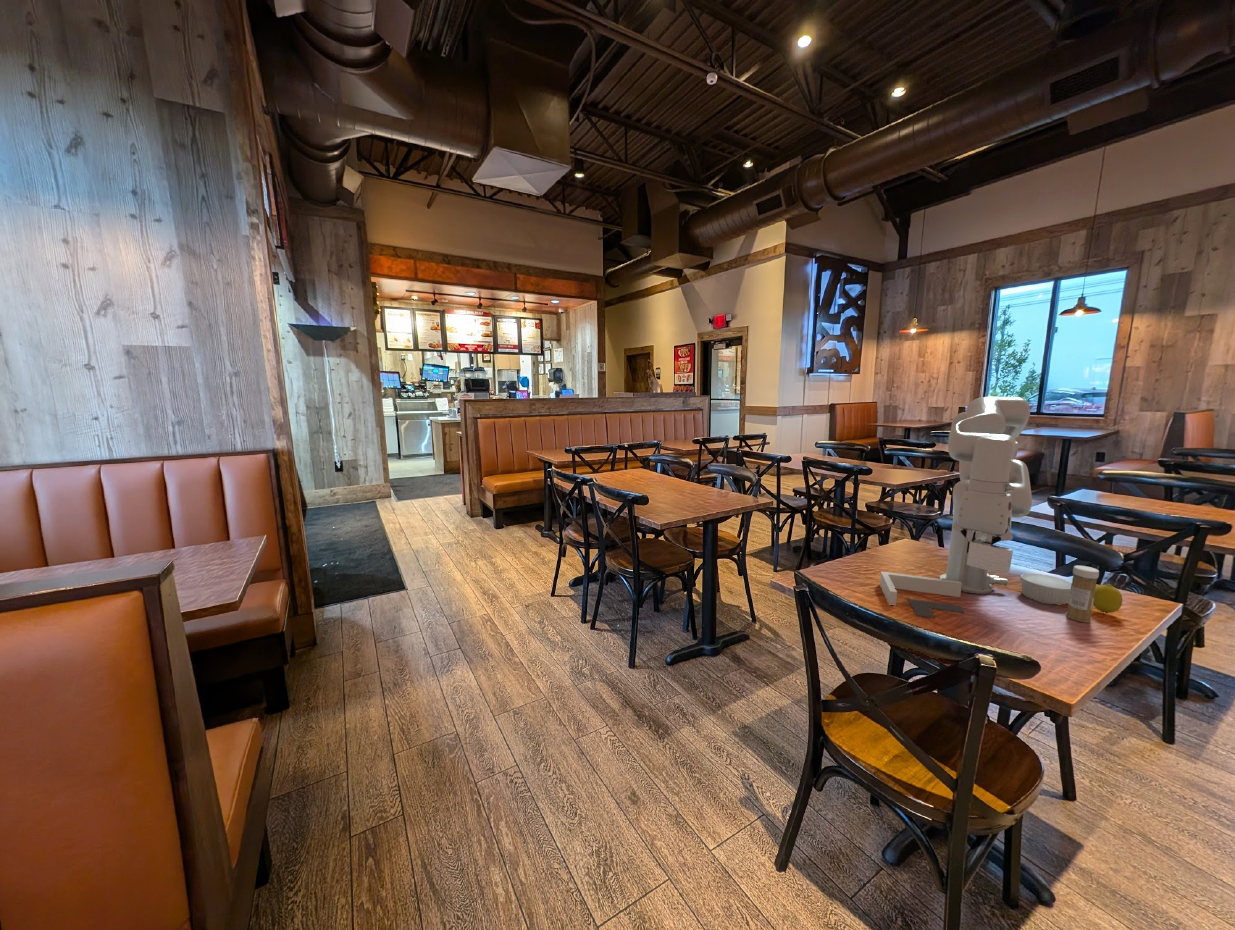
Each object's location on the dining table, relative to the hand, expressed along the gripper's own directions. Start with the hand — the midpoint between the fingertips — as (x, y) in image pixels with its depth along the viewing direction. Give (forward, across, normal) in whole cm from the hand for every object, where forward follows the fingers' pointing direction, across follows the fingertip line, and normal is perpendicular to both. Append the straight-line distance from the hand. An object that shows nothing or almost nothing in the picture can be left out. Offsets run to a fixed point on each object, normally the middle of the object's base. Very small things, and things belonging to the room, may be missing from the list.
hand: (978, 557), depth 119 cm
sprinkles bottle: (+15, -17, -19) cm, 30 cm away
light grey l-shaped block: (+15, +10, +2) cm, 18 cm away
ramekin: (+15, -9, -28) cm, 33 cm away
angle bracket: (+1, -3, -1) cm, 3 cm away
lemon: (+15, -20, -28) cm, 38 cm away
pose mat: (+15, +5, +6) cm, 17 cm away
